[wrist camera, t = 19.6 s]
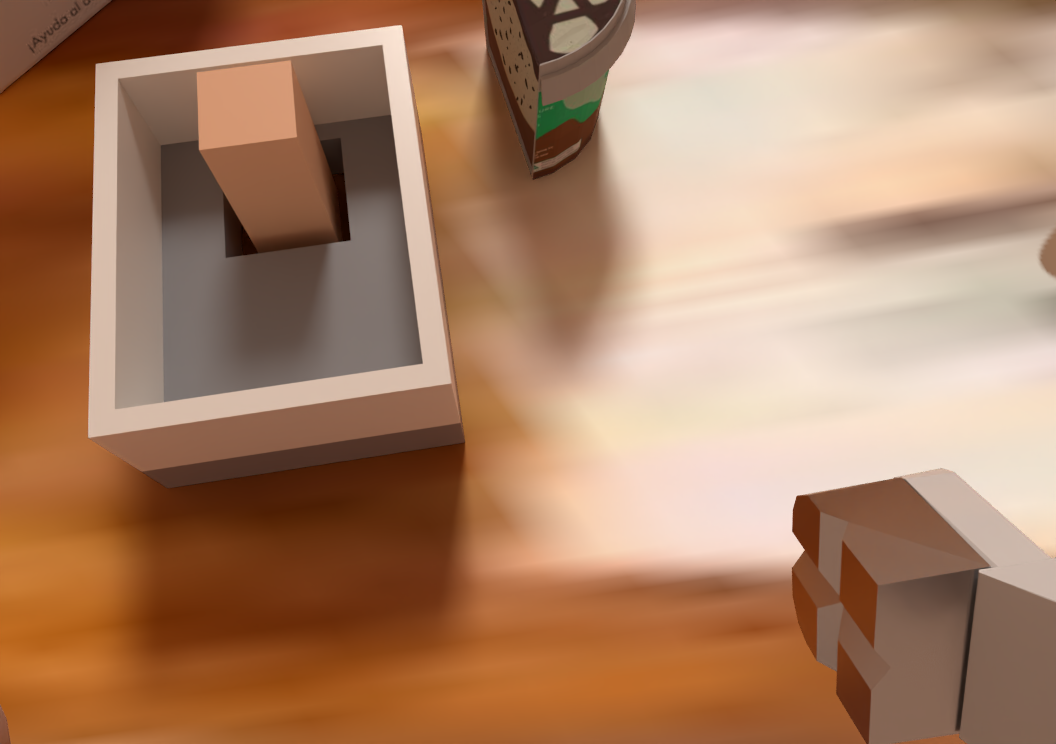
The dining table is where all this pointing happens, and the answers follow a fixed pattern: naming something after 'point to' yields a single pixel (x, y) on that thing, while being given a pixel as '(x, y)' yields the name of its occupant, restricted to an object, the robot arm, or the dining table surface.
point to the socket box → (264, 278)
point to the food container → (555, 69)
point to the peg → (268, 155)
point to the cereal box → (37, 31)
